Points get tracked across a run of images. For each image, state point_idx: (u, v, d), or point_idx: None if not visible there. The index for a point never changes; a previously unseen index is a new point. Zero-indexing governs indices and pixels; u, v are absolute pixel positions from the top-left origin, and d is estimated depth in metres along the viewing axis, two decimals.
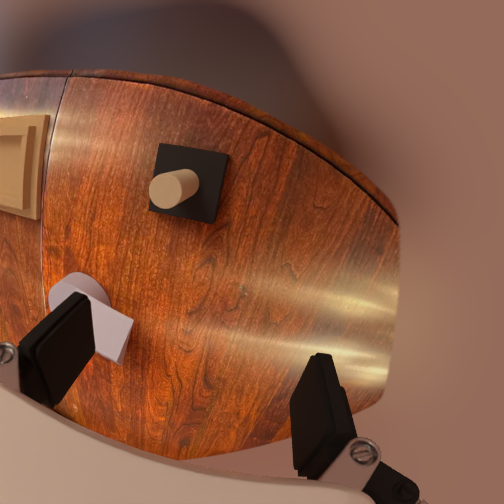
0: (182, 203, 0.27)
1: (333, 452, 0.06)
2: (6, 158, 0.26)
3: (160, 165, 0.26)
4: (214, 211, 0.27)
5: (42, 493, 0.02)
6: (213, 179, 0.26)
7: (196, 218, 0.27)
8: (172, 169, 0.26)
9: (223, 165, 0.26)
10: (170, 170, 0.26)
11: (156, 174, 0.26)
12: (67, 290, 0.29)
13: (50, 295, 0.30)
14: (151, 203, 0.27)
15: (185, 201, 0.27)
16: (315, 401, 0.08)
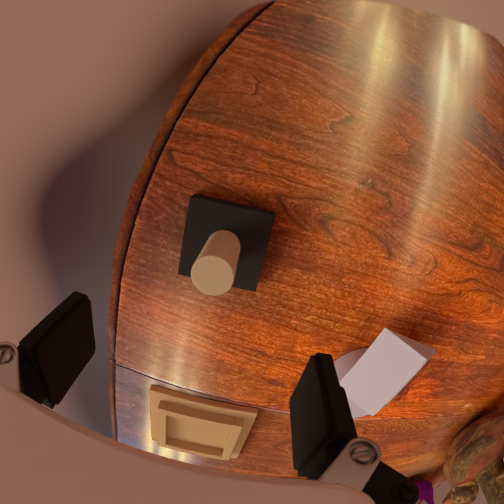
0: (248, 251, 0.23)
1: (333, 452, 0.06)
2: (190, 432, 0.33)
3: None
4: (258, 213, 0.22)
5: (42, 493, 0.02)
6: (219, 213, 0.22)
7: (267, 235, 0.23)
8: None
9: (202, 201, 0.22)
10: None
11: None
12: None
13: None
14: (246, 287, 0.24)
15: (245, 247, 0.23)
16: (315, 401, 0.08)
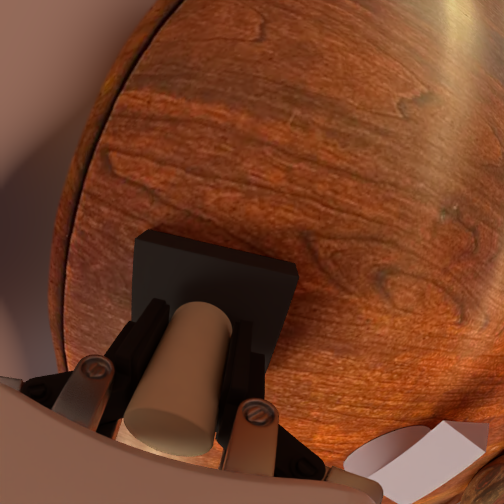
0: None
1: (232, 409, 0.07)
2: None
3: None
4: (266, 272, 0.11)
5: (42, 493, 0.02)
6: (191, 271, 0.11)
7: (282, 311, 0.12)
8: None
9: (157, 247, 0.11)
10: None
11: None
12: None
13: None
14: None
15: None
16: (226, 361, 0.09)
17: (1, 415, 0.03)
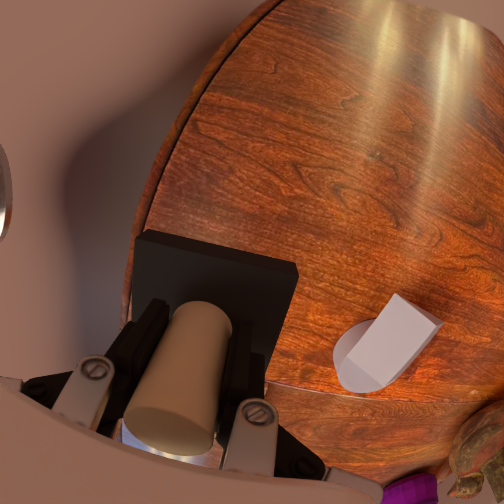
0: None
1: (232, 409, 0.07)
2: None
3: None
4: (266, 271, 0.11)
5: (42, 493, 0.02)
6: (191, 270, 0.11)
7: (282, 311, 0.12)
8: None
9: (157, 247, 0.11)
10: None
11: None
12: (348, 366, 0.28)
13: (349, 389, 0.29)
14: None
15: None
16: (226, 361, 0.09)
17: (1, 415, 0.03)
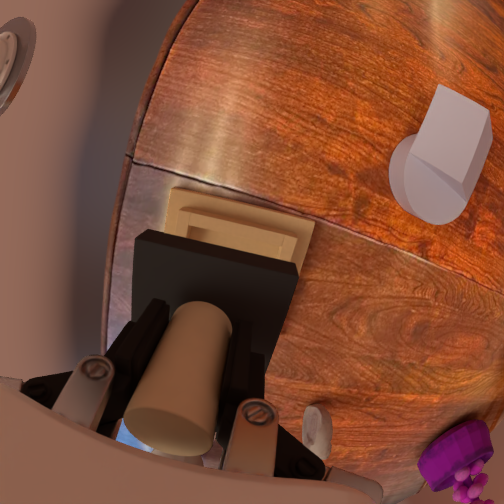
0: None
1: (232, 410, 0.07)
2: None
3: None
4: (266, 272, 0.11)
5: (42, 493, 0.02)
6: (191, 271, 0.11)
7: (282, 311, 0.12)
8: None
9: (157, 247, 0.11)
10: None
11: None
12: (413, 170, 0.21)
13: (418, 212, 0.23)
14: None
15: None
16: (226, 361, 0.09)
17: (1, 415, 0.03)
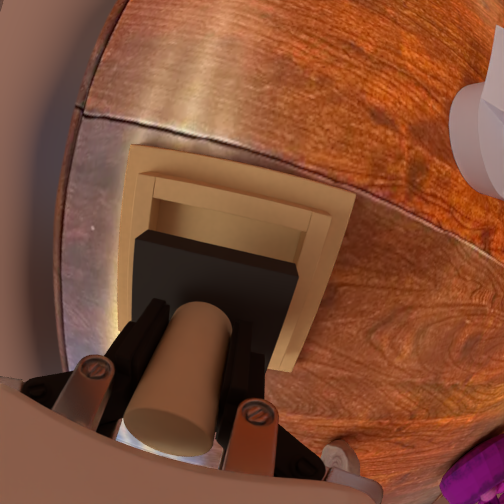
0: None
1: (232, 410, 0.07)
2: None
3: None
4: (266, 272, 0.11)
5: (42, 493, 0.02)
6: (191, 271, 0.11)
7: (282, 311, 0.12)
8: None
9: (157, 247, 0.11)
10: None
11: None
12: (487, 124, 0.11)
13: (495, 184, 0.12)
14: None
15: None
16: (226, 361, 0.09)
17: (1, 415, 0.03)
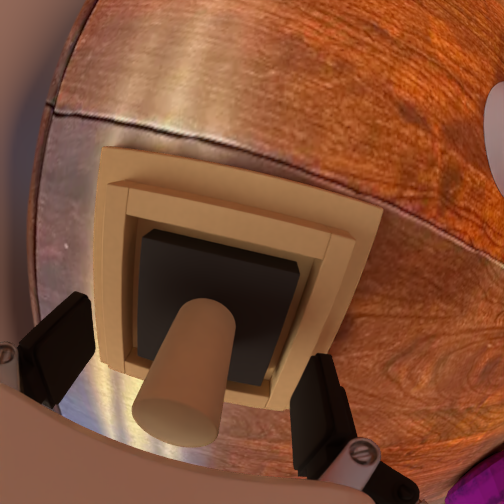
0: (249, 332, 0.13)
1: (333, 452, 0.06)
2: None
3: None
4: (269, 269, 0.12)
5: (42, 493, 0.02)
6: (196, 268, 0.12)
7: (284, 308, 0.12)
8: None
9: (163, 246, 0.12)
10: None
11: None
12: None
13: None
14: (247, 381, 0.14)
15: (244, 326, 0.13)
16: (315, 401, 0.08)
17: (1, 415, 0.03)
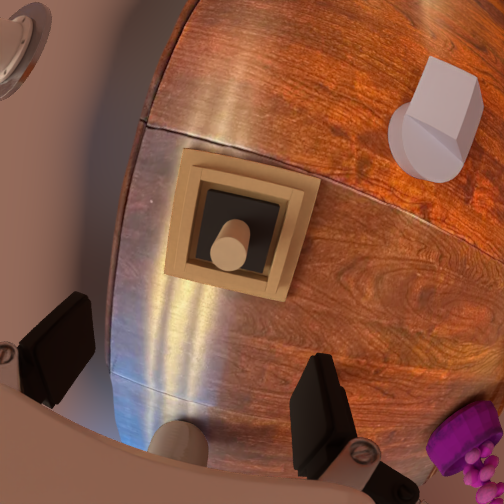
0: (256, 237, 0.27)
1: (333, 452, 0.06)
2: None
3: None
4: (266, 204, 0.26)
5: (42, 493, 0.02)
6: (232, 204, 0.26)
7: (273, 223, 0.27)
8: None
9: (218, 194, 0.26)
10: None
11: None
12: (410, 130, 0.22)
13: (417, 169, 0.23)
14: (255, 269, 0.28)
15: (254, 234, 0.27)
16: (315, 401, 0.08)
17: (1, 415, 0.03)
